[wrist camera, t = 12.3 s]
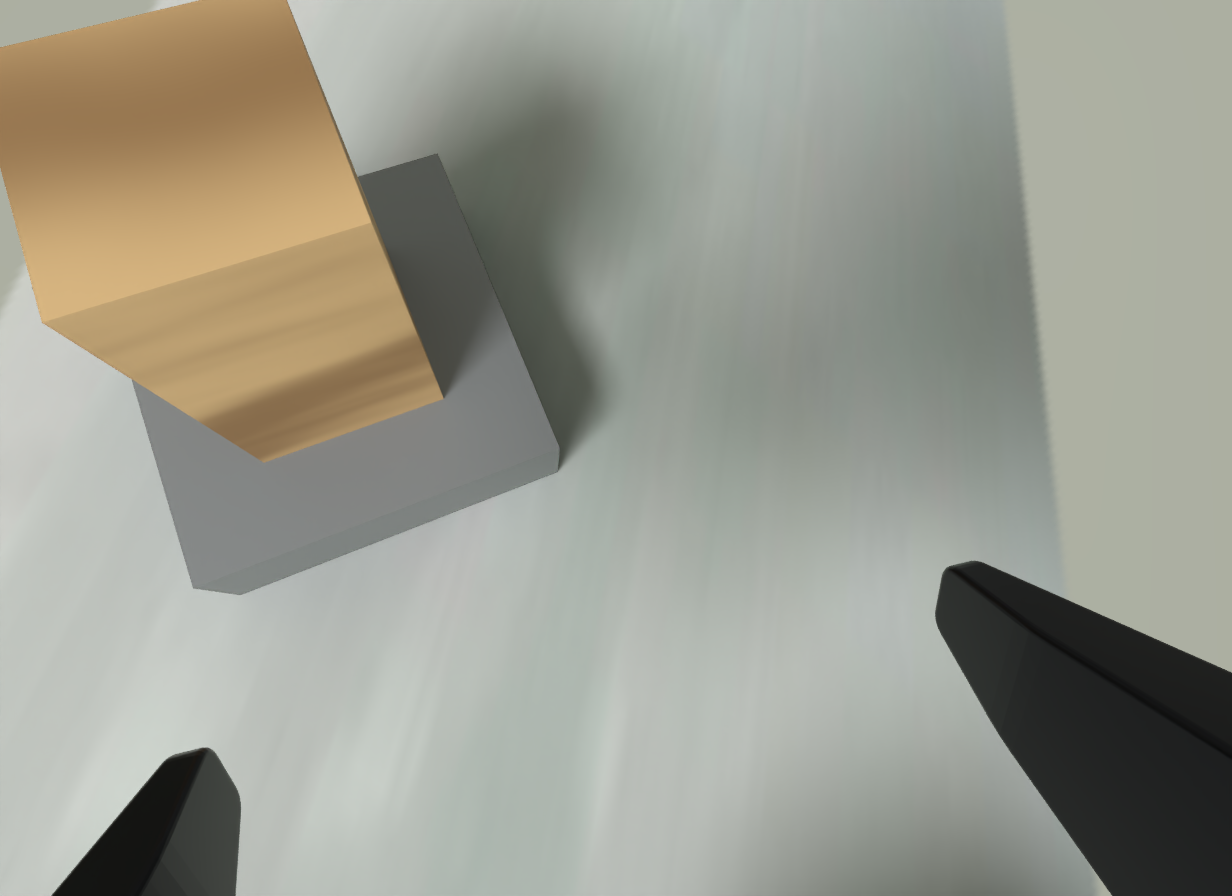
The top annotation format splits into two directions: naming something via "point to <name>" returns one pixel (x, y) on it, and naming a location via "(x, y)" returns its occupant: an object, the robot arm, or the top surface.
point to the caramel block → (207, 223)
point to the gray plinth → (382, 452)
